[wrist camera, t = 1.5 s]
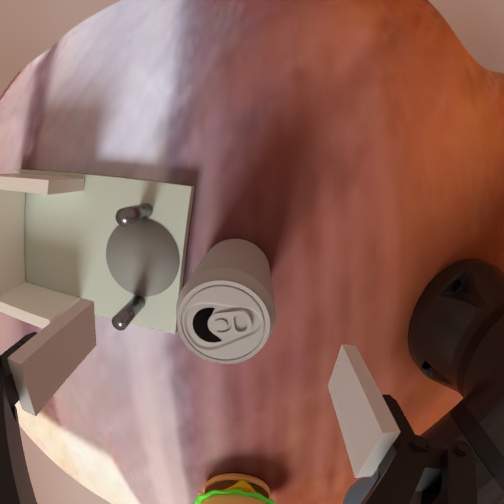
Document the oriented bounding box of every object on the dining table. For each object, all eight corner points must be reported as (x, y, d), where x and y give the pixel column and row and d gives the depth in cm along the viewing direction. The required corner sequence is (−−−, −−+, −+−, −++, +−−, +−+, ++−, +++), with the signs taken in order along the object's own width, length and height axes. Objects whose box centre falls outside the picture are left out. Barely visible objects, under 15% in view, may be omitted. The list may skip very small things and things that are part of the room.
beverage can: (197, 242, 29) (158, 282, 18) (265, 232, 29) (268, 266, 17) (210, 305, 31) (183, 373, 19) (274, 296, 30) (282, 363, 19)
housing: (84, 178, 27) (48, 180, 21) (80, 307, 30) (50, 331, 24) (18, 173, 26) (-18, 175, 21) (18, 288, 30) (-13, 305, 24)
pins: (153, 204, 27) (132, 209, 22) (145, 309, 29) (126, 331, 25) (139, 202, 27) (116, 206, 22) (132, 306, 29) (111, 328, 25)
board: (195, 186, 28) (191, 186, 27) (178, 327, 31) (175, 334, 30) (20, 169, 28) (12, 169, 26) (19, 285, 31) (12, 289, 30)
